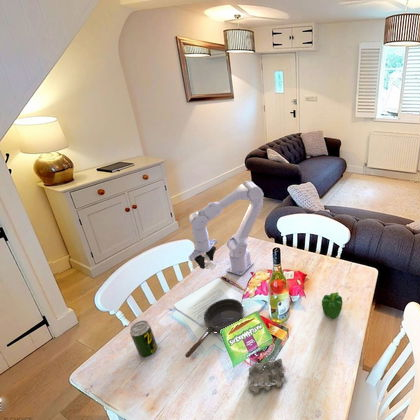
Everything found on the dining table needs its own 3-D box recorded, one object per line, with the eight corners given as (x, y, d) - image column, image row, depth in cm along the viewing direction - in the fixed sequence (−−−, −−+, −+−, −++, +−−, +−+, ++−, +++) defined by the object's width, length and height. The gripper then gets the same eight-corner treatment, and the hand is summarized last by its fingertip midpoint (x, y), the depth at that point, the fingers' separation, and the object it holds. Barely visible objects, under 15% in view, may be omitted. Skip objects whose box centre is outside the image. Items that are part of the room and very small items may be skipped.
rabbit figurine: (208, 274, 117) (194, 263, 118) (210, 275, 121) (196, 264, 121) (218, 262, 119) (203, 252, 120) (220, 264, 123) (206, 254, 123)
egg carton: (249, 395, 80) (247, 387, 78) (249, 371, 86) (248, 363, 85) (285, 387, 82) (284, 379, 80) (282, 364, 89) (282, 356, 87)
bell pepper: (326, 324, 104) (327, 305, 99) (318, 309, 110) (319, 290, 106) (345, 318, 106) (347, 299, 102) (337, 303, 113) (338, 285, 109)
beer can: (137, 360, 88) (126, 335, 83) (142, 346, 93) (133, 321, 88) (155, 357, 90) (145, 332, 84) (160, 343, 94) (151, 318, 89)
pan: (221, 301, 112) (220, 294, 111) (251, 310, 108) (250, 304, 107) (196, 327, 100) (195, 321, 99) (228, 339, 96) (227, 332, 95)
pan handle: (210, 328, 98) (209, 325, 97) (214, 330, 98) (213, 326, 97) (184, 357, 88) (183, 354, 87) (188, 359, 87) (187, 356, 87)
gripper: (206, 229, 122) (210, 253, 128) (180, 245, 109) (187, 272, 115) (218, 232, 120) (223, 257, 126) (194, 249, 107) (200, 276, 113)
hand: (206, 264), depth 120 cm, fingers closed on rabbit figurine, 4 cm apart
